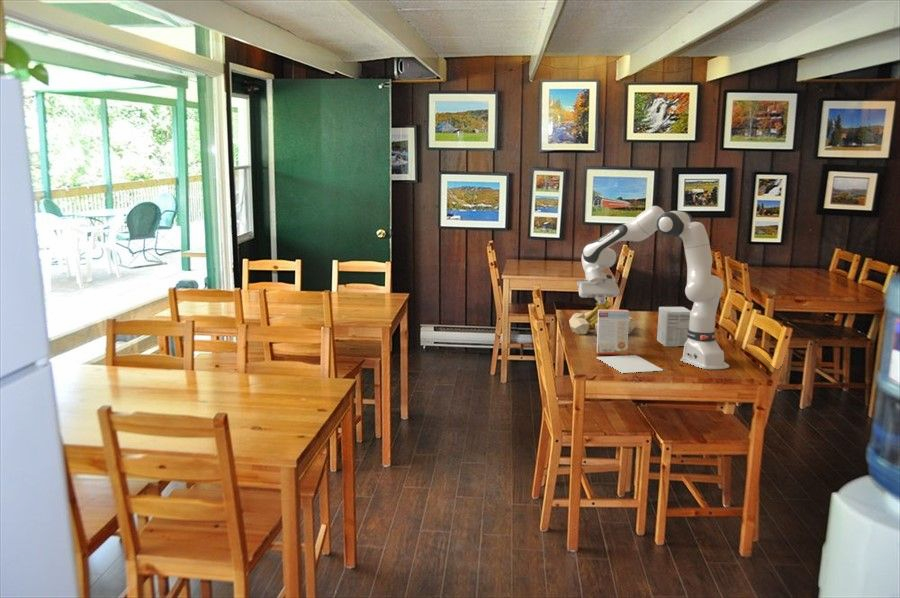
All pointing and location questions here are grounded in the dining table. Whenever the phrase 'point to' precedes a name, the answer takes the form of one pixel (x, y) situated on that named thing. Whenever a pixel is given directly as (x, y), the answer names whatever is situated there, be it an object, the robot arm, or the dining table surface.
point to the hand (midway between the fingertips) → (602, 303)
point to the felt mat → (629, 364)
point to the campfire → (591, 320)
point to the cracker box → (612, 332)
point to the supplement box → (673, 326)
